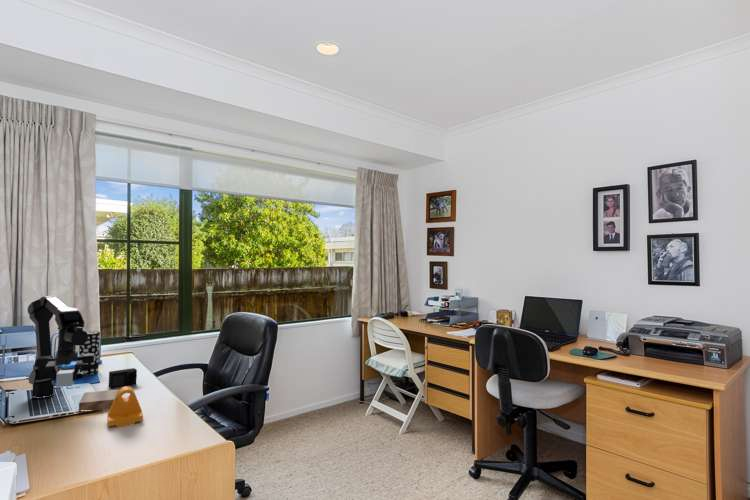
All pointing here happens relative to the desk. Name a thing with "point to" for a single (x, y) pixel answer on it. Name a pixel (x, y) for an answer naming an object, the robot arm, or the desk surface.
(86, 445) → the desk surface
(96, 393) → the walnut block
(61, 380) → the slate cube
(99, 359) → the file sorter
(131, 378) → the digital camera
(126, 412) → the bracket
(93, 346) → the spotted tube
